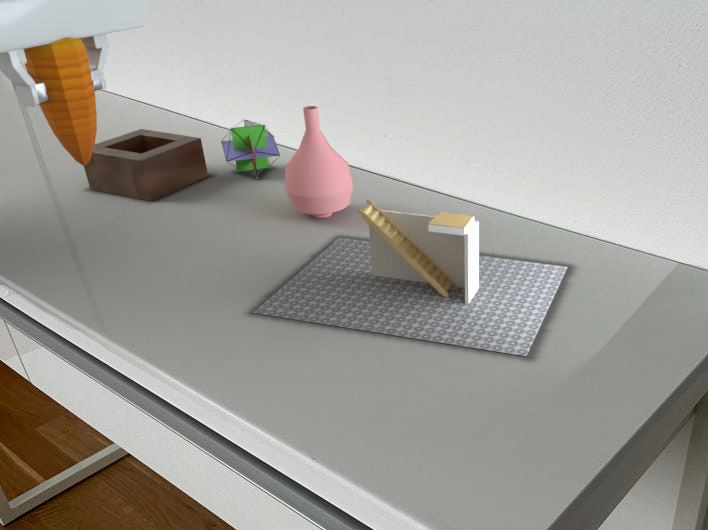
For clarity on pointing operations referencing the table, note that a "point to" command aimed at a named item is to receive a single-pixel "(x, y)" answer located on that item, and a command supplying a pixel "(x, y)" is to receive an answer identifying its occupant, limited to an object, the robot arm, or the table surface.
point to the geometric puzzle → (250, 147)
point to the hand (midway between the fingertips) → (65, 96)
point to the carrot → (67, 94)
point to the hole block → (146, 164)
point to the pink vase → (317, 173)
